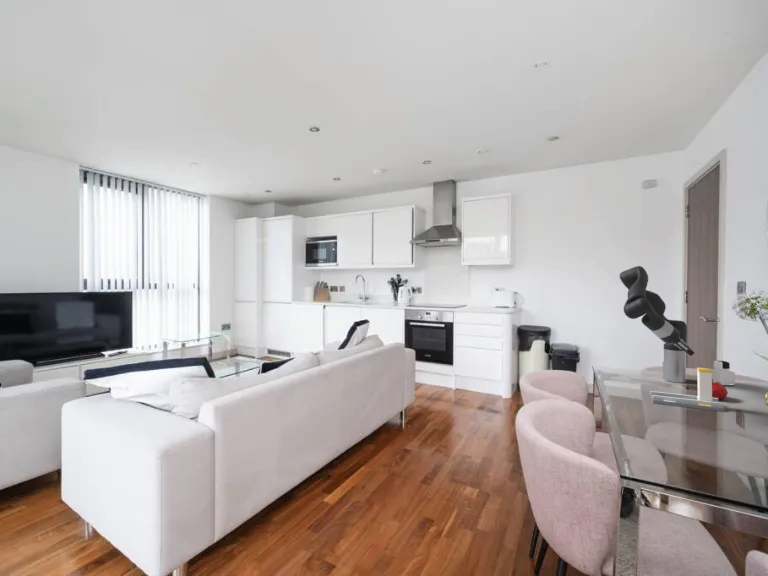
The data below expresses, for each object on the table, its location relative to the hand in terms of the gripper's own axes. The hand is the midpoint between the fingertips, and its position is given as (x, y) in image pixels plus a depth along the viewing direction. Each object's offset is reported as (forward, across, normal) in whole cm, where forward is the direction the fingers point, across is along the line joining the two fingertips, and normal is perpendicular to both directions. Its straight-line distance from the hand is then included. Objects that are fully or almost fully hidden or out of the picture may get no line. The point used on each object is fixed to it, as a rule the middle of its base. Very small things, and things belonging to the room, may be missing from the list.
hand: (691, 353), depth 161 cm
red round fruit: (+24, +1, -9) cm, 26 cm away
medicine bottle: (+43, -22, -2) cm, 49 cm away
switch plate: (+10, +9, -18) cm, 23 cm away
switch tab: (+13, +11, -12) cm, 21 cm away
